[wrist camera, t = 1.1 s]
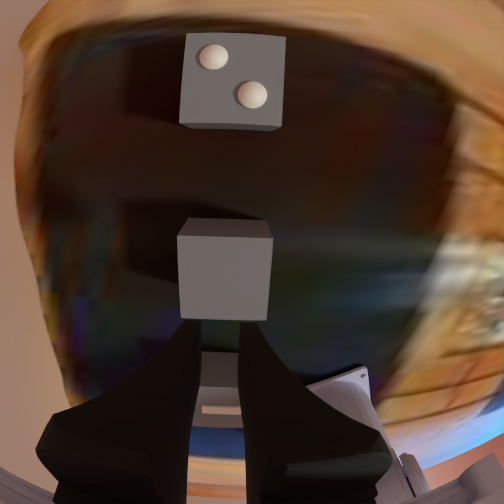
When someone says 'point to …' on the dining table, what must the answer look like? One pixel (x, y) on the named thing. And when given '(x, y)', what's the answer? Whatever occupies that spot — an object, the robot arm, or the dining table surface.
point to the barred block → (218, 392)
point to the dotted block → (232, 81)
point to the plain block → (224, 268)
